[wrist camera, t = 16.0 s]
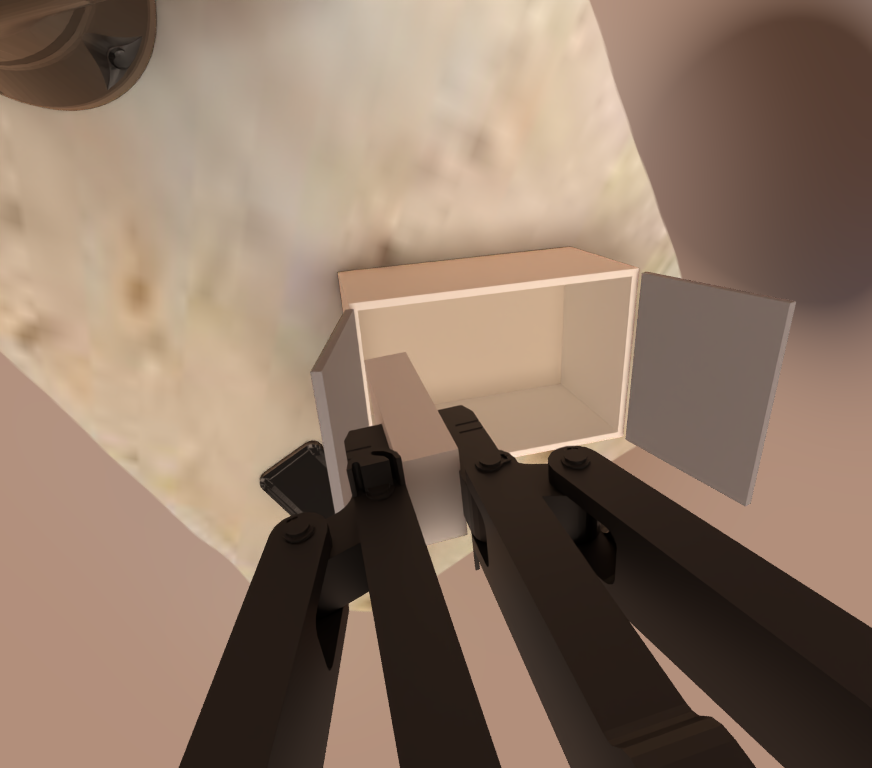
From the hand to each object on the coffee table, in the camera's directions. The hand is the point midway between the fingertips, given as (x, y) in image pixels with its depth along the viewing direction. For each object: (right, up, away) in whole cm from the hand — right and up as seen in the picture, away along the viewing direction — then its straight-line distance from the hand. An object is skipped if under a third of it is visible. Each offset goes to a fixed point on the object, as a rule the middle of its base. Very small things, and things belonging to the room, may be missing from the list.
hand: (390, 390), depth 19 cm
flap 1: (-4, -4, +17) cm, 18 cm away
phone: (-11, -13, +41) cm, 44 cm away
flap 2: (+22, 0, +22) cm, 31 cm away
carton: (+4, +5, +36) cm, 37 cm away
